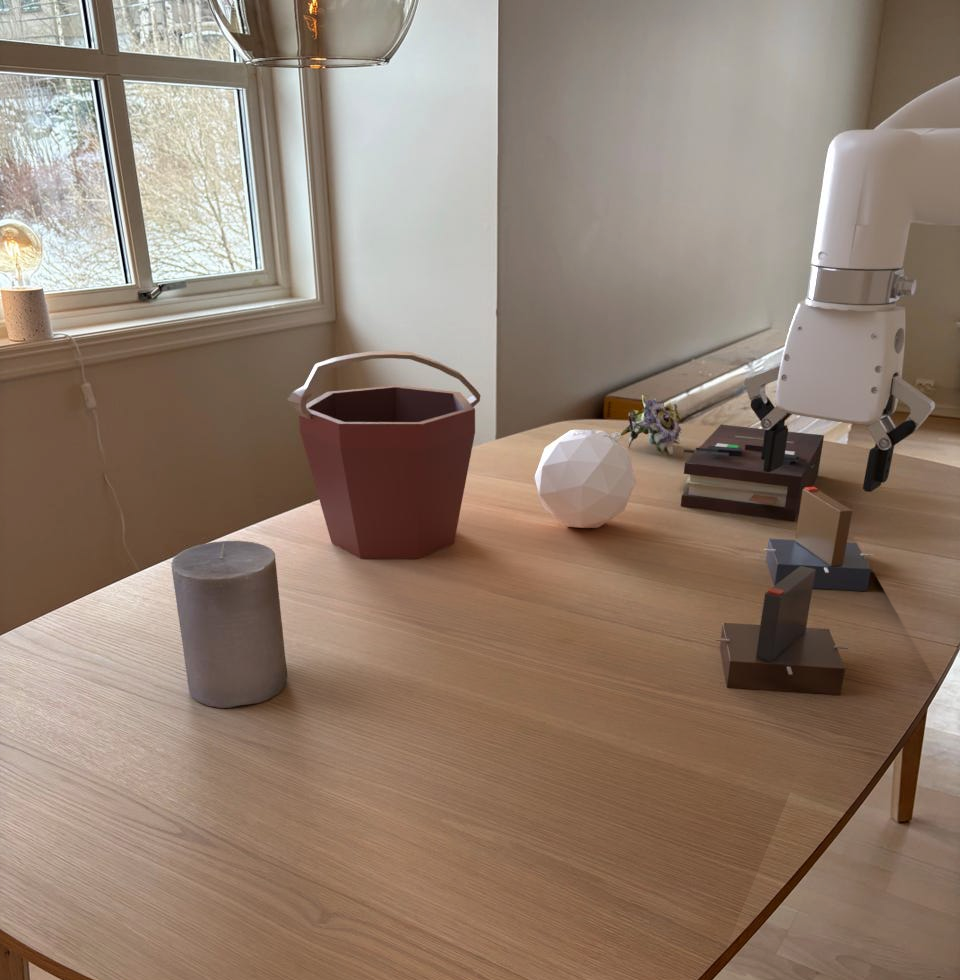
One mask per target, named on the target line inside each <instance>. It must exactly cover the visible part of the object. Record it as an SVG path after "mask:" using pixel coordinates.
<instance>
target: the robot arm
mask: <svg viewBox="0 0 960 980" xmlns="http://www.w3.org/2000/svg"><path fill="white" fill-rule="evenodd" d="M912 223H914V224H919V225H931V226H932V225H933V226H947V227H950V226H951V227H953V226H954V227H955V226H960V75H958V76H956V77H953V78H951V79H949V80H947V81H945V82H943V83H941V84H939V85H937V86H936V87H933V88H931V89H929V90H927V91H926V92H923V93H922V94H920V95H919V96H917V97H915V98H914V99H912V100H911V101H908V103H906V104H905V105H903V106H902V107H901V108H899V109H898V110H897V111H895V112H894V113H893V114H891V115H890V116H888V118H886V119H885V120H883V121H882V122H881V123H880V124H878V125H877V126H876V127H875V128H874V129H850V130H845V131H843V132H839V133H838V134H837V135H836V136H835V137H834V138H832V140H831V141H830V143H829V146H828V149H827V153H826V159H825V165H824V171H823V177H822V185H821V191H820V199H819V206H818V213H817V220H816V227H815V234H814V240H813V247H812V254H811V260H810V267H809V268H810V269H809V275H808V281H807V289H806V296H805V299H804V300H801V301H798V303H797V305H796V309H795V311H794V314H793V318H792V320H791V324H790V326H789V329H788V332H787V336H786V340H785V343H784V348H783V351H782V356H781V361H780V364H778V365H776V366H772V367H771V368H768V369H766V370H763V371H760V372H758V373H755V374H753V375H750V376H748V377H746V378H745V379H744V382H743V383H744V384H743V385H744V387H745V390H746V393H747V397H748V399H749V400H750V408H751V410H752V411H753V412H754V414H755V415H756V417H757V419H759V421H760V427H761V429H764V430H765V434H764V442H763V449H762V460H765V461H764V471H765V472H771V471H773V470H775V469H777V468H779V467H781V466H782V465H783V463H784V456H785V449H786V442H787V436H788V432H789V428H788V425H786V424H785V423H786V421H787V420H788V419H789V418H790V417H791V416H792V415H795V416H800V417H806V418H812V419H819V420H823V421H830V422H836V423H837V422H838V423H844V424H850V425H851V424H852V425H858V426H865V427H866V429H867V431H868V432H869V435H870V436H871V437H872V439H873V441H874V443H875V444H874V447H872V448H870V449H869V452H868V456H867V462H866V467H865V468H866V469H865V472H864V473H865V474H864V479H863V484H862V490H864V492H867V493H872V492H873V491H875V490H876V489H877V488H879V487H880V486H882V483H883V484H884V483H885V482H887V480H888V478H889V475H890V472H891V471H890V470H891V465H892V460H893V456H894V455H893V454H894V449H895V446H896V445H897V444H899V443H900V442H901V441H903V440H905V439H906V438H908V437H909V436H911V435H912V434H913V433H915V432H916V431H918V430H919V428H920V426H921V425H923V423H924V422H925V421H926V419H927V418H928V417H929V416H930V414H931V413H933V411H934V409H935V408H936V403H935V401H934V400H932V399H931V398H930V397H928V395H925V394H924V393H923V392H921V391H920V390H918V389H917V388H915V387H914V386H913V385H911V383H909V382H908V381H906V380H904V379H903V378H902V376H903V368H904V357H905V344H906V307H904V306H899V305H897V302H898V301H899V300H900V298H901V297H904V296H914V295H915V293H916V291H917V285H918V281H917V279H916V278H909V277H908V276H906V275H905V268H903V267H904V260H905V255H906V250H907V245H908V240H909V234H910V229H911V224H912ZM775 381H776V388H775V405H776V406H774V404H773V402H772V401H771V400H770V398H769V397H768V396H767V394H766V386H767V385H768V384H770V383H772V382H775ZM899 401H900V402H901V403H903V404H905V405H906V406H907V407H908V408H909V410H910V412H909V415H908V416H907V417H906V418H905V420H904V421H903V422H902V423H900V424H899V425H898V426H896V424H895V422H894V421H893V419H892V418H891V416H892V415H893V414H894V413H895V412H896V409H897V406H898V402H899Z"/></svg>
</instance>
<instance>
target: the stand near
mask: <svg viewBox="0 0 960 980" xmlns="http://www.w3.org/2000/svg"><path fill="white" fill-rule="evenodd" d="M721 625H722V626H721V634H720V638H719V637H715V638H714V639H715V642H720V643H719V651H720V657H721V662H722V669H723V673H724V680H725V684H726V688H730V689H743V690H744V689H745V690H758V691H759V690H760V691H773V692H788V693H791V692H792V693H804V694H818V695H833V696H841V693H842V689H843V685H844V684H843V683H844V679H845V678H844V677H845V673H846V666H845V664H844V662H843V659H842V657H841V654H840V652H839V650H849V649H850V648H849V646H848V645H847V646H846V645H836V643H835V640H834V638H833V636H832V632H831V630H830V628H820V627H819V628H817V627H806V631H805V632H804V633H803V634H801V635H800V636H799V637H798V638H797V639H796V640H795V641H794V642H793V643H791V644H790V645H789V646H788V647H787V648H786V649H785V650H784V651H783V652H781V653H780V654H779V655H778V656H777V657H776V658H775V659H774V660H773V661H771V662H769V661H766V660H763V659H759V658H756V653H757V646H758V639H759V632H760V625H761V624H752V623H751V624H750V623H736V622H735V623H734V622H722V624H721Z"/></svg>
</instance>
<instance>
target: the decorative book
mask: <svg viewBox="0 0 960 980" xmlns="http://www.w3.org/2000/svg"><path fill="white" fill-rule="evenodd" d="M764 434H765V430H764V429H763V428H757V427H748V426H739V425H729V424H720V425H719V426H718V427H717V428H716V429H715V430H714V431H713V432H712V433H711V434H710V436H709V437H707V439H706V440H705V441H704V442H703V443H702V444H701V445H700V446H699V447H696V448H695V449H683V451H682V453H686V454H691V456H689V457H688V459H687V460H686V461H685V462H684V467H683V474H684V475H688V477H687V478H686V480H684V484H686V483H687V484H689V485H688V488H687V489H686V490H685V491H684V492H683V493H682V494H681V499H680V507H684V508H692V509H699V510H707V511H713V512H720V511H721V512H720V513H728V512H729V514H735V513H737V514H736V515H742V514H743V516H750V515H751V516H750V517H758V518H765V519H774V520H781V521H786V522H787V521H788V522H796V521H797V518H798V517H799V511H800V504H801V497H802V491H803V489H805V487H814V483H815V482H816V480H817V478H818V476H819V470H820V465H821V458H822V452H823V444H824V439H825V435H824V434H815V433H805V432H796V431H788V436H787V442H786V449H785V456H784V463H783V465H782V466H781V467H779V468H777V469H775V470H773V471H771V472H765V471H764V461H765V460H762V449H763V442H764Z"/></svg>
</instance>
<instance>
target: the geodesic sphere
mask: <svg viewBox="0 0 960 980" xmlns="http://www.w3.org/2000/svg"><path fill="white" fill-rule="evenodd" d="M618 431H619V430H616V431H614V432H613V433H612V432H611V434H608V433H607V432H606V431H605V430H597V429H594V428H593V429H571V430H569V431H567V432H565V434H563V435H561V436H559V437H558V438H557V439H556V440H554V441H553V442H551V443H550V444H548V445H547V446H545V447H544V450H543V453H542V455H541V458H540V460H539V463H538V466H537V469H536V472H535V474H534V481H535V485H536V489H537V492H538V495H539V499H540V502H541V503H540V504H541V507H542V508H543V509H545V510H546V511H547V512H548V513H550V514H551V515H552V516H553V517H554V518H556V519H557V520H558V521H559V522H561V523H562V524H563V526H566V527H570V528H580V529H591V528H592V529H598V528H600V527H602V526H603V525H605V524H606V523H608V522H610V521H611V520H613V519H614V518H616V517H617V516H619V515H621V514H622V513H624V512H625V510H626V507H627V505H628V503H629V500H630V498H631V495H632V492H633V491H634V487H635V485H636V482H637V479H636V476H635V472H634V468H633V464H632V459H631V456H630V452H629V450H628V449H627V448H625V447H624V446H623V445H622V444H621V443H620V441H621V440H622V438H624V435H622V436H621V431H619V432H618ZM619 436H620V437H619Z"/></svg>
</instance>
